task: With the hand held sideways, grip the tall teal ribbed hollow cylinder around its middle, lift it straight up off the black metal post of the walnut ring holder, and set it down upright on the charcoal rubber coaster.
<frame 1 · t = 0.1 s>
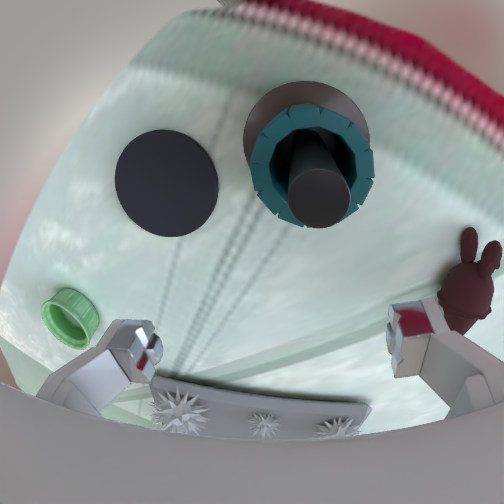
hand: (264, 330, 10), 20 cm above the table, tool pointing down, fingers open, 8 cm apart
ramekin: (79, 308, 40), on the table
icecream: (455, 279, 30), on the table
teal ribbed hollow cylinder: (307, 143, 22), point 3 cm above the table, touching ring holder
coaster: (164, 184, 29), on the table
ring holder: (306, 138, 25), on the table
decorative tray: (255, 422, 49), on the table
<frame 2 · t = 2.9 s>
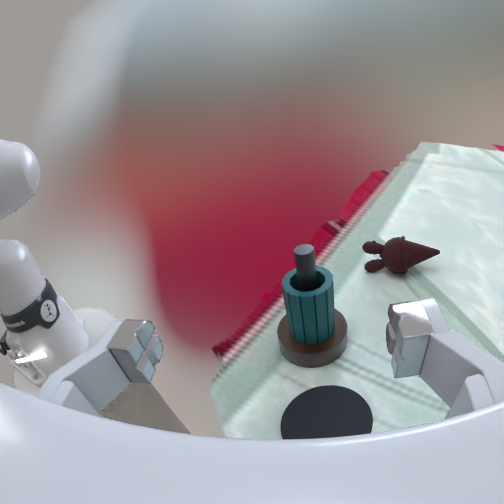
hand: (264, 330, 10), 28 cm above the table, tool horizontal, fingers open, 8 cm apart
icecream: (400, 270, 53), on the table
teal ribbed hollow cylinder: (312, 327, 42), point 3 cm above the table, touching ring holder
coaster: (326, 424, 31), on the table
ring holder: (313, 341, 44), on the table
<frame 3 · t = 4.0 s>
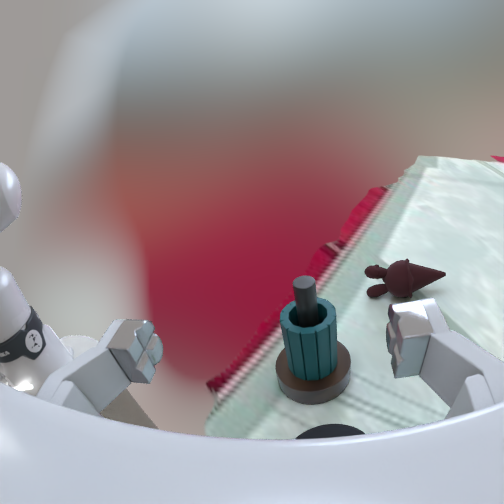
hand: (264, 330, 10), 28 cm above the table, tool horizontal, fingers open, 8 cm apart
icecream: (404, 294, 50), on the table
teal ribbed hollow cylinder: (312, 361, 38), point 3 cm above the table, touching ring holder
coaster: (330, 465, 27), on the table
ring holder: (314, 375, 39), on the table
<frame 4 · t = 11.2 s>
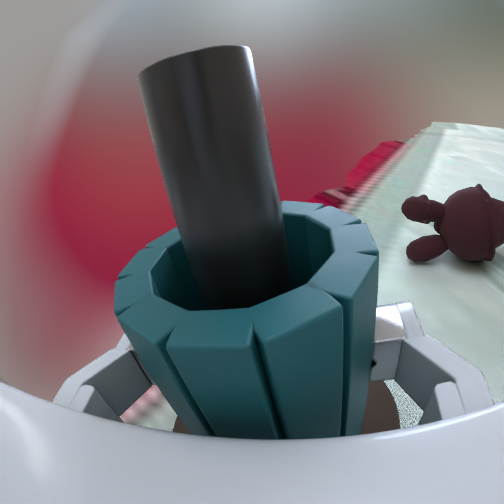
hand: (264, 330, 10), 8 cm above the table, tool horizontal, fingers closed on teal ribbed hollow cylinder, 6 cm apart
icecream: (472, 257, 23), on the table
teal ribbed hollow cylinder: (283, 425, 11), point 3 cm above the table, touching gripper, ring holder
ring holder: (289, 451, 13), on the table
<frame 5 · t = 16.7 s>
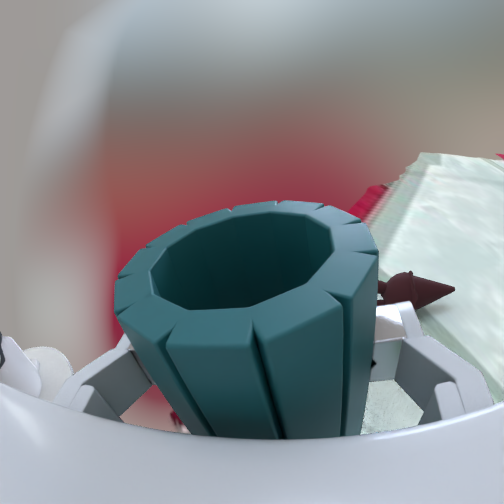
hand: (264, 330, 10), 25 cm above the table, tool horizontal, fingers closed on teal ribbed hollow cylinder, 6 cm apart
icecream: (406, 311, 42), on the table
teal ribbed hollow cylinder: (283, 425, 11), point 20 cm above the table, touching gripper
when the fingers open (6 cm above the table, at t = 22.4 s): teal ribbed hollow cylinder stays where it is, resting on coaster.
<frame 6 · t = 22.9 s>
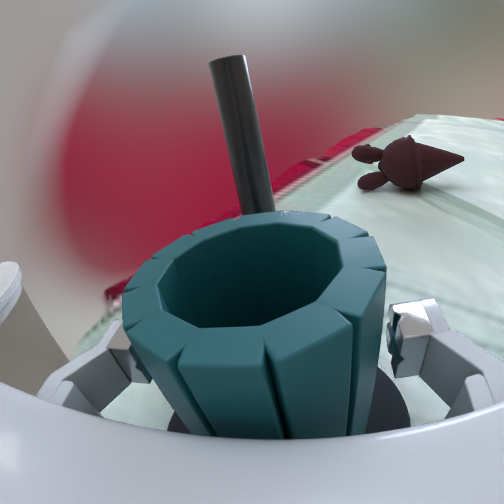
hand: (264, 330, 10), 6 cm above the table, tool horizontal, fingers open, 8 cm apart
icecream: (411, 189, 34), on the table
teal ribbed hollow cylinder: (287, 431, 11), point 1 cm above the table, touching coaster
coaster: (285, 435, 12), on the table
ring holder: (270, 270, 24), on the table
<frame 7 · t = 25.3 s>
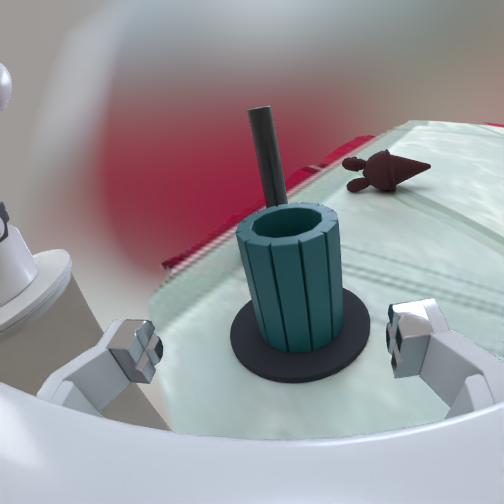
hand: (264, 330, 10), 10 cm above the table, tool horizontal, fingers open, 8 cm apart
icecream: (388, 190, 46), on the table
teal ribbed hollow cylinder: (301, 322, 23), point 1 cm above the table, touching coaster
coaster: (300, 327, 23), on the table
ring holder: (284, 245, 36), on the table
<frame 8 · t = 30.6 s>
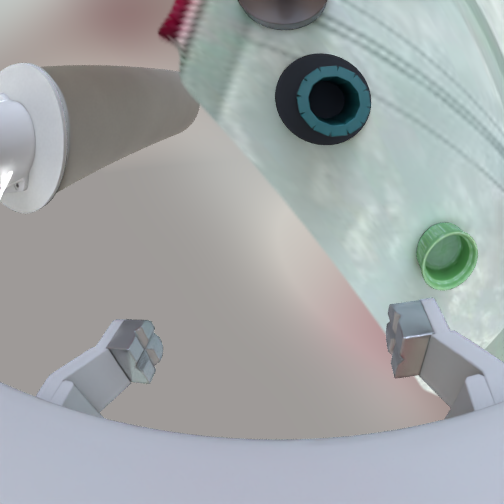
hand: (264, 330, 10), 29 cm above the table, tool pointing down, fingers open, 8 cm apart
ramekin: (439, 246, 38), on the table
teal ribbed hollow cylinder: (325, 99, 30), point 1 cm above the table, touching coaster
coaster: (323, 98, 31), on the table
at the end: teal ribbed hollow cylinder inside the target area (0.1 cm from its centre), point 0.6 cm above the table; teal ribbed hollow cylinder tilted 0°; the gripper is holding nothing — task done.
